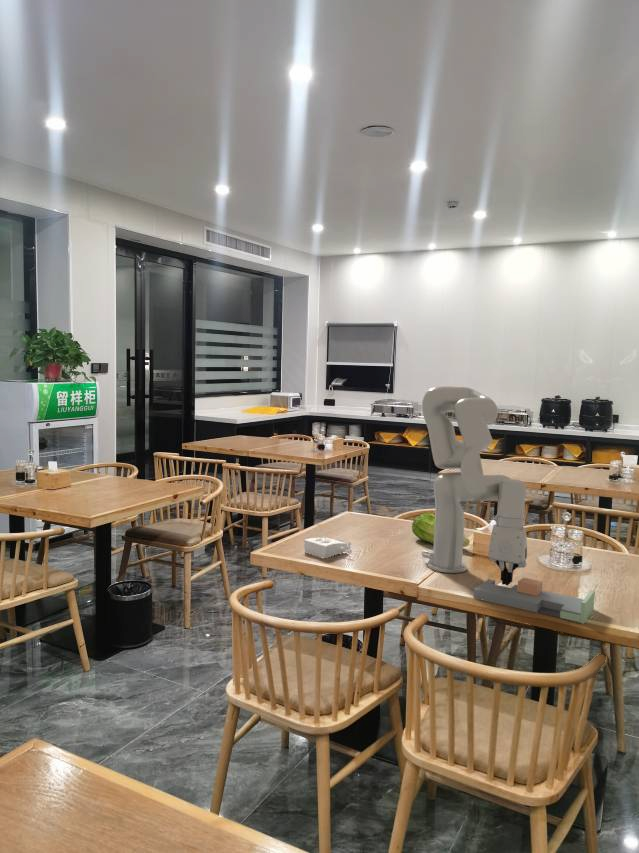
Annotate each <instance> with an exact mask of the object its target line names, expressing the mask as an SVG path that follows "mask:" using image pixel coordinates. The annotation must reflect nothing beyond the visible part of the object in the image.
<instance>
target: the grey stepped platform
mask: <svg viewBox="0 0 639 853" xmlns="http://www.w3.org/2000/svg"><path fill="white" fill-rule="evenodd" d="M517 586H518V584H514V585H513V586H511V587H508V586H502V585H498V584H496V580H495V579H491V578H488V579H486V580H485V581H484V582H482V583H480V584H479V585H478V586H477V585H476V586H475V588H473V595H472V597H476V598H475V599H477V598H479V599H478V600H481V599H483V600H482V601H485V600H487V602H489V603H490V602H491V603H495V604H499V605H503V606H507V607H512V608H516V609H521V610H525V611H528V612H532V613H537V614H540V615H546V616H550V617H553V618H558V619H563V620H566V621H570V622H575V623H580V624H585V623H586V621H587V620H588V619H589V617H590V616H591V614H592V613H593V612H594V607H595V597H596V596H595V595H596V590H595V589H592V588H591V589H590V590H589V592H588V593H587V594H586V596H585V597H584V598H579V597H578V598H577V597H574V596H569V595H564V594H559V593H554V592H552V591H551V592H550V591H546V590H542V592H541V593H540V594H539V595H537V596H534V595H529V594H525V593H520V592H517ZM586 619H587V620H586Z"/></svg>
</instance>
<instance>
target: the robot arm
mask: <svg viewBox="0 0 639 853" xmlns="http://www.w3.org/2000/svg"><path fill="white" fill-rule="evenodd" d="M421 410H422V416H423V419H424V421H425V425H426V427H427V431H428V436H429V441H430V442H429V443H430V448H431V454H432V460H433V462H434V465H435V467H437V468H439V469H441V470H459V469H460V470H459V471H458V472H454V471H453V472H445V473H442V474H440V475H438V476H437V477H436V478H435V480H434V482H433V495H434V503H435V504H434V505H435V512H434V513H435V514H434V515H435V529H434V544H433V549H432V551H429V550H424V549H423V550H422V553H421V556H422V558H425V559H429V560H428V562H427V567H428V568H429V569H431V570H433V571H436V572H438V573H439V572H440V573H446V574H457V573H458V574H460V573H464V572H465V571H467V564H466V563H464V562H463V550H464V547H463V538H464V535H465V520H466V516H465V511H464V509H463V507H462V505H461V502H469V501H470V502H471V501H477V502H489V501H497V510H496V515H492V517H491V520H492V521H495V524H493V526H492V530H491V533H490V538H489V540H490V541H489V547H488V560H489V561H490V562H492V563H494V564H496V566H498V568H499V570H500V581H501V584H502V585H505V586H506V587H508V586H509V585H510V584H511V583H512V582H513V575H514V571H515V570H516V569H517V568H521V569H523V568H526V567H527V557H528V538H527V530H526V527H524V526H525V524H524V523H525V521H524V520H525V507H526V491H527V490H526V489H527V485H526V483H525V482H524V481H523V480H519V479H515V478H514V479H513V478H510V477H508V476H506V475H504V474H487V475H484V470H483V465H482V459H481V455H480V453H481V452H483V451H485V450H486V449H488V448H489V447H491V446H492V444H493V437H492V435H491V432H490V429H489V426H488V425H489V424H493V423H494V422H496V420H497V418H498V416H499V409H498V406H497V404H496V402H495V401H494V400H493V399H492V398H490V397H488V396H487V395H485V394H483V393H481V392H479V391H477V390H475V389H473V388H470V387H466V386H446V385H445V386H435V387H432V388H430V389H428V390H427V391H426V392H425V393H424V395H423V397H422V402H421ZM446 413H454V417H455V420H456V423H457V426H458V429H459V432H460V435H461V439H462V440H461V439H457V436H456V432H455V426H454V425H453V422H452V421H451V420H450V418H449V417H448V416H447V415H446ZM507 563H508V564H507Z"/></svg>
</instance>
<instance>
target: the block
mask: <svg viewBox="0 0 639 853" xmlns="http://www.w3.org/2000/svg"><path fill="white" fill-rule="evenodd" d="M543 583H544V581H541V580H537V579H536V580H535V579H532V578H528V577H523V578H520V579H519V580H518V581H517V585H518V586H517V592H520V593H525V594H529V595H534V596H537V595H539V594H540V593H541V592H542V591H543V585H544V584H543Z"/></svg>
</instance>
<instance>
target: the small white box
mask: <svg viewBox="0 0 639 853" xmlns="http://www.w3.org/2000/svg"><path fill="white" fill-rule="evenodd" d="M327 535H328V534H326V533H323V537H312V538H311V537H309V538H306V539H304V540H303V541H304V542H303V548H304V553H305V552H307V553H310V554H313V555H312V556H314V555H316V556H315V557H317V556H319V557H318V558H320V557H323V558H327V559H329V558H328V557H330V558H332V557H334V555H335V556H338V555H337V554H340V553H343V552H346V553H347V554H349V555H351V554H352V549H351V545H352V544H351V541H347V542H343V540H342V539H339V540H337V539H333V538H328V537H327ZM307 553H306V554H307ZM310 554H309V555H310ZM343 554H344V553H343ZM340 555H341V554H340ZM331 556H332V557H331ZM323 558H322V559H323Z"/></svg>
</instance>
